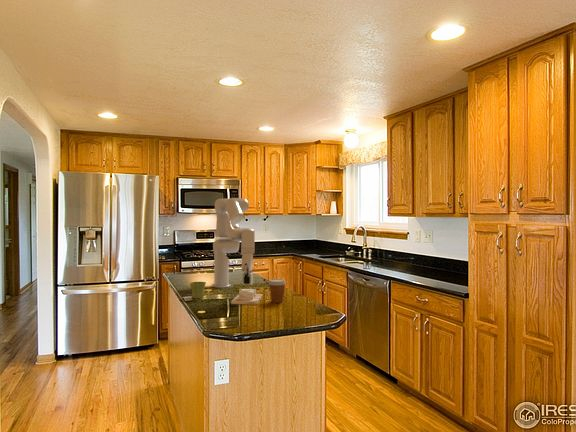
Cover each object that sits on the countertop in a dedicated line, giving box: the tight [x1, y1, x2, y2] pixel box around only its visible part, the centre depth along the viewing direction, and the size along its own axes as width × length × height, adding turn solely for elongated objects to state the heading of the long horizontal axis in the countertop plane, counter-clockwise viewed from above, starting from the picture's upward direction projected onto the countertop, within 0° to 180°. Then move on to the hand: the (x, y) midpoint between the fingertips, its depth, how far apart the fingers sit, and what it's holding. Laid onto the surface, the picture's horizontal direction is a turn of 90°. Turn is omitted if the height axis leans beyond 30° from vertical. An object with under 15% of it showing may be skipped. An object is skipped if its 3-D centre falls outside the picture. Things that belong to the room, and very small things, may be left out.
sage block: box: [242, 272, 254, 286], centre depth 230 cm, size 5×5×6 cm
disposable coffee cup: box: [268, 278, 287, 304], centre depth 227 cm, size 10×10×12 cm
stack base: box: [230, 288, 264, 306], centre depth 230 cm, size 20×14×6 cm
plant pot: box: [189, 281, 207, 299], centre depth 236 cm, size 9×9×9 cm
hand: (247, 282), depth 230 cm, fingers closed on sage block, 5 cm apart
